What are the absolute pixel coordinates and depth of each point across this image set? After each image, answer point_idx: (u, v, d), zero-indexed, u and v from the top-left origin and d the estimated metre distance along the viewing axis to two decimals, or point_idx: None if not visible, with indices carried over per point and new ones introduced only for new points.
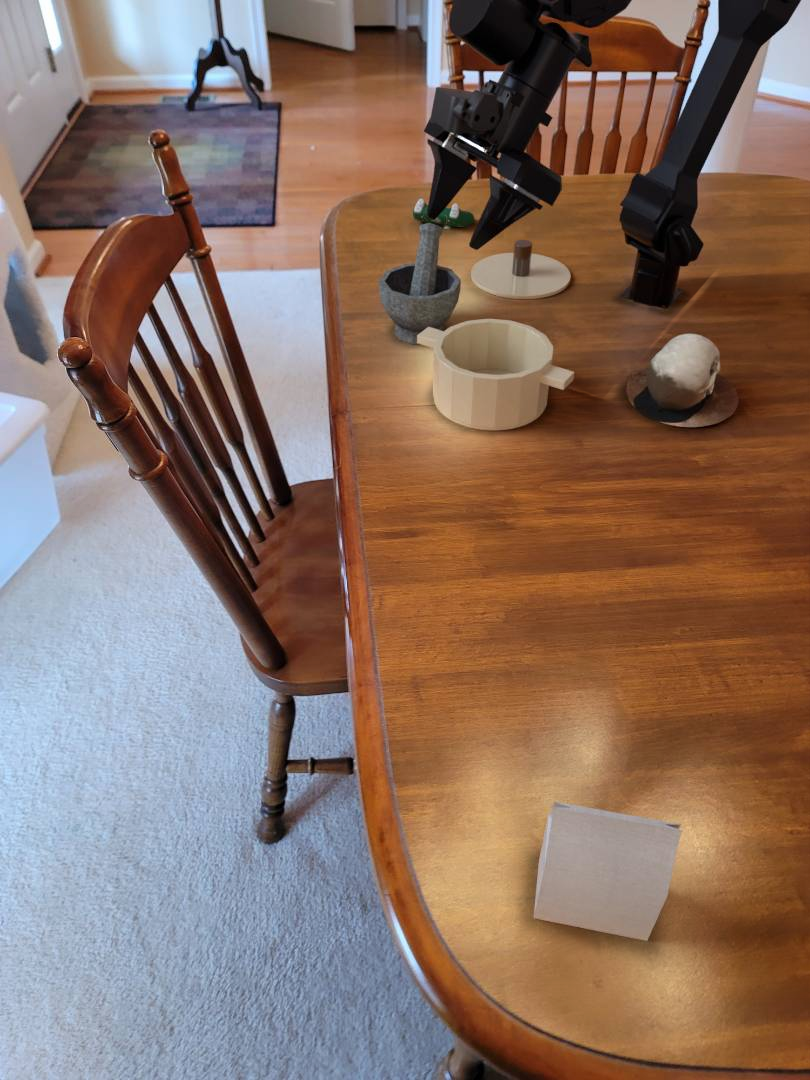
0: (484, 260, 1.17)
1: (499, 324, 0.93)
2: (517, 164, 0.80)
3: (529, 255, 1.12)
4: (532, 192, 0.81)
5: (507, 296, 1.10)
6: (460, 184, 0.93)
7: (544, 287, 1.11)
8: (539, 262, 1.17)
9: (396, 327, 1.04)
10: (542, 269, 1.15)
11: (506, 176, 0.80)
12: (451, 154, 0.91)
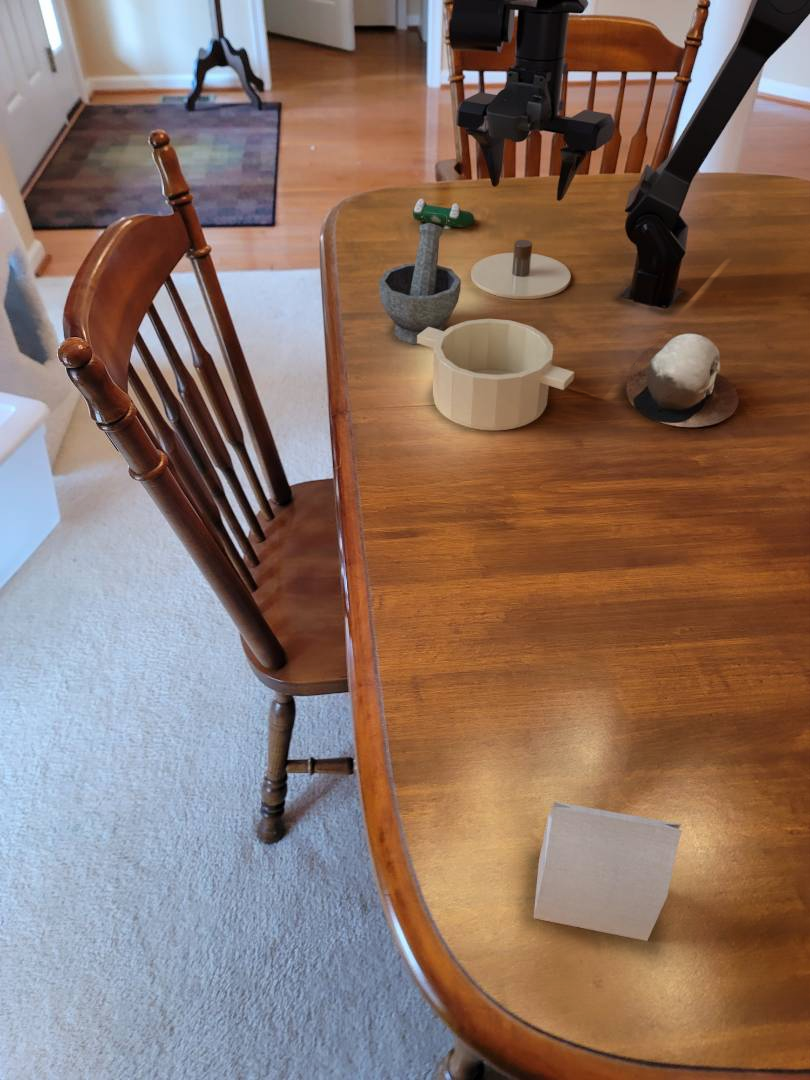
0: (484, 260, 1.17)
1: (499, 324, 0.93)
2: (587, 136, 0.95)
3: (529, 255, 1.12)
4: (602, 144, 0.98)
5: (507, 296, 1.10)
6: (502, 144, 1.07)
7: (544, 287, 1.11)
8: (539, 262, 1.17)
9: (396, 327, 1.04)
10: (542, 269, 1.15)
11: (580, 148, 0.97)
12: None
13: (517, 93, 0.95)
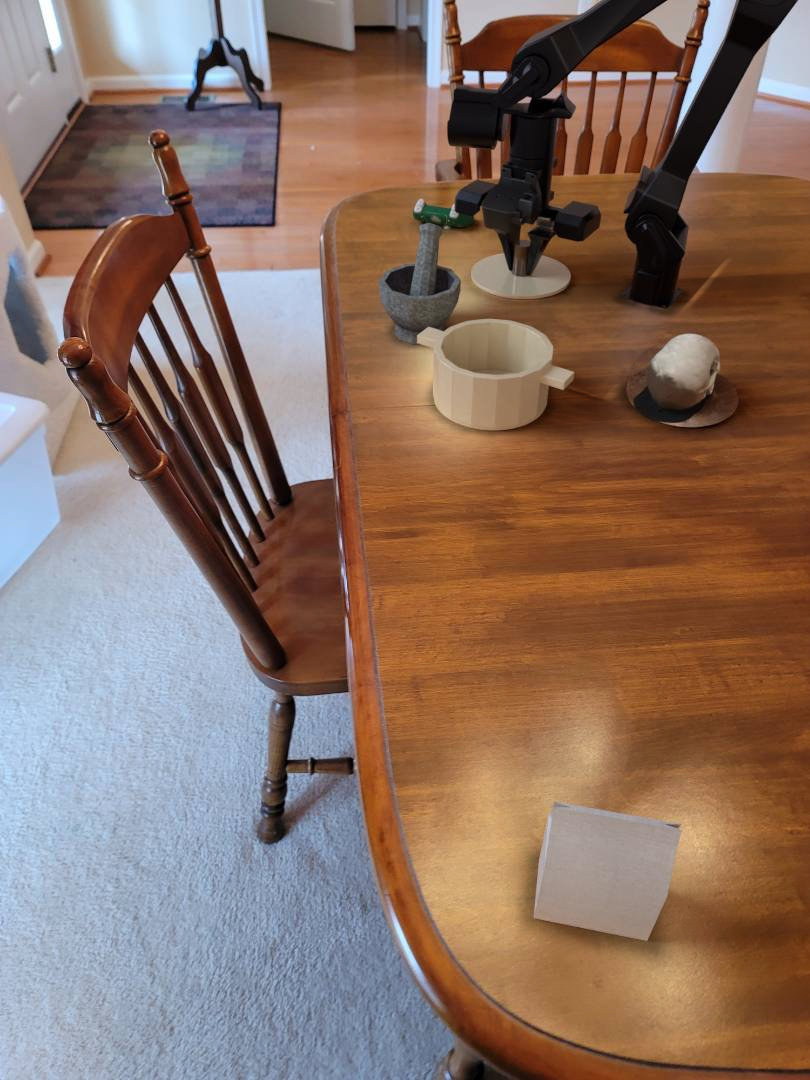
0: (484, 260, 1.17)
1: (499, 324, 0.93)
2: (575, 228, 1.03)
3: None
4: (589, 234, 1.05)
5: (507, 296, 1.10)
6: (518, 232, 1.13)
7: (544, 287, 1.11)
8: (539, 262, 1.17)
9: (396, 327, 1.04)
10: (542, 269, 1.15)
11: (569, 238, 1.04)
12: None
13: (510, 188, 1.03)
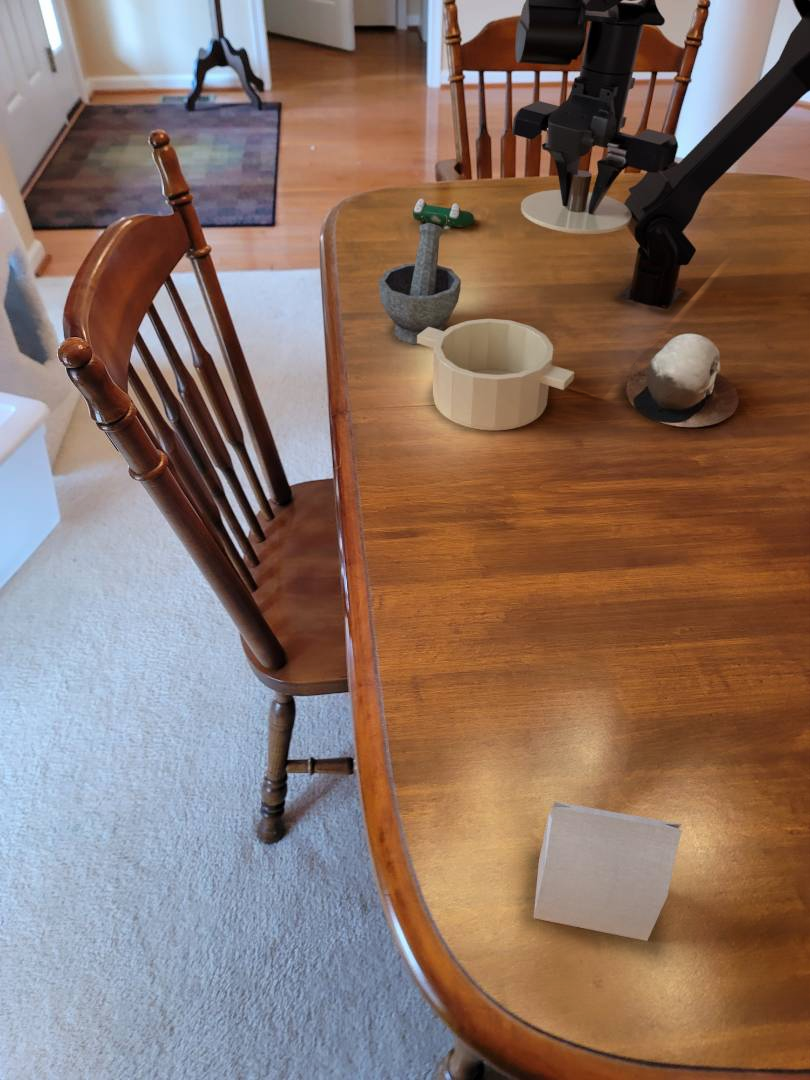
0: (531, 197, 1.05)
1: (499, 324, 0.93)
2: (650, 157, 0.92)
3: (588, 187, 1.01)
4: (664, 167, 0.94)
5: (570, 231, 0.98)
6: (577, 162, 1.02)
7: (608, 222, 1.00)
8: None
9: (396, 327, 1.04)
10: None
11: (642, 168, 0.93)
12: None
13: (581, 106, 0.91)
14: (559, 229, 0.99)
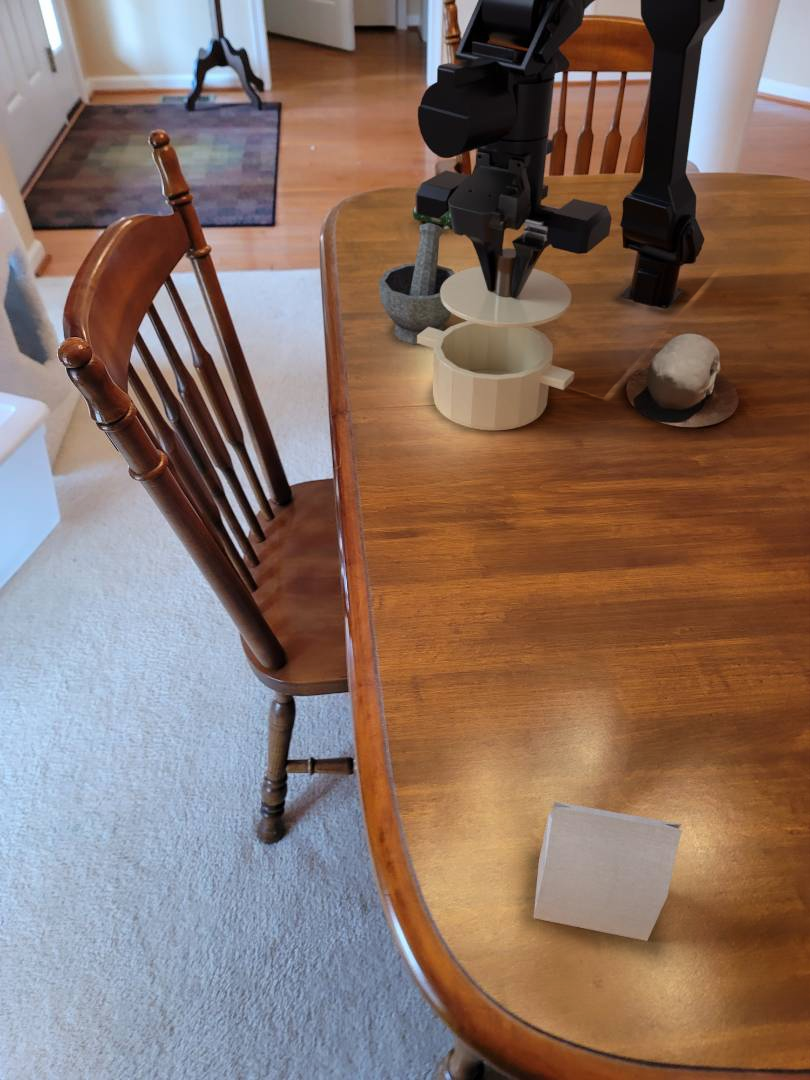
0: (447, 286, 0.88)
1: None
2: (576, 236, 0.75)
3: None
4: (595, 244, 0.77)
5: (521, 325, 0.82)
6: (500, 240, 0.85)
7: (552, 303, 0.85)
8: None
9: (396, 327, 1.04)
10: None
11: (568, 249, 0.76)
12: None
13: (488, 181, 0.75)
14: (508, 326, 0.82)
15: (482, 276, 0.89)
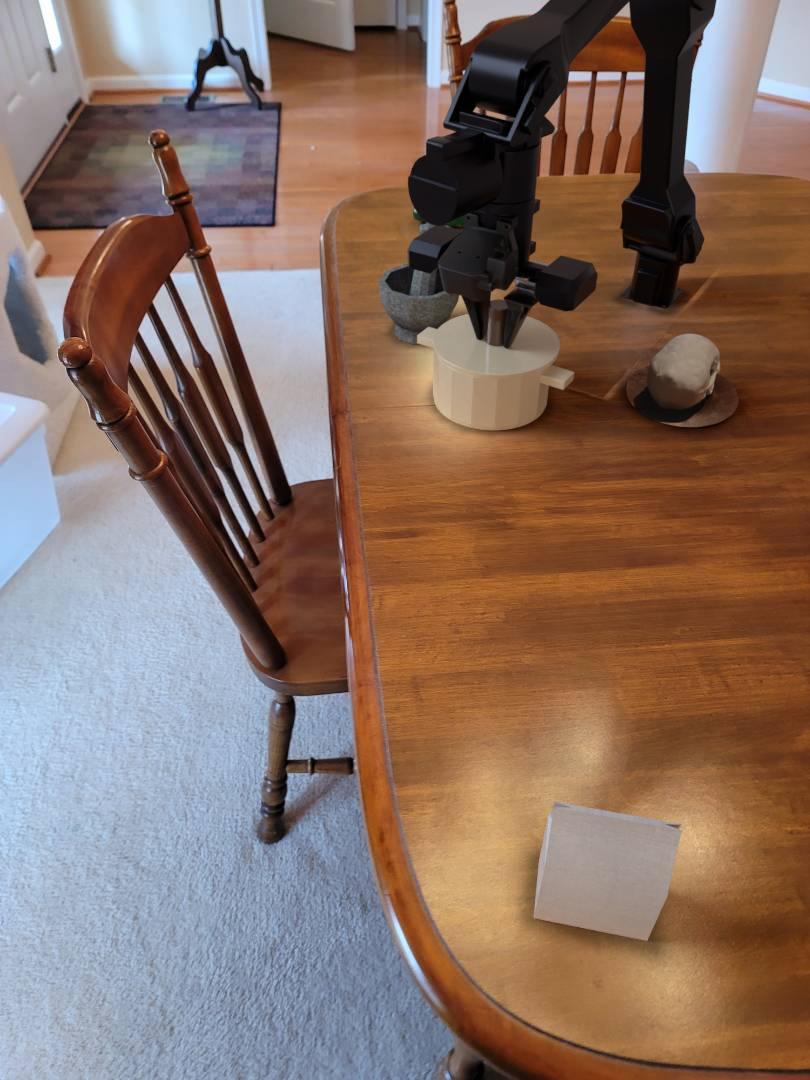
0: (439, 335, 0.90)
1: None
2: (563, 294, 0.77)
3: None
4: (582, 301, 0.79)
5: (511, 376, 0.84)
6: None
7: (541, 352, 0.87)
8: None
9: (396, 327, 1.04)
10: None
11: (555, 307, 0.79)
12: None
13: (476, 242, 0.77)
14: (498, 377, 0.84)
15: None
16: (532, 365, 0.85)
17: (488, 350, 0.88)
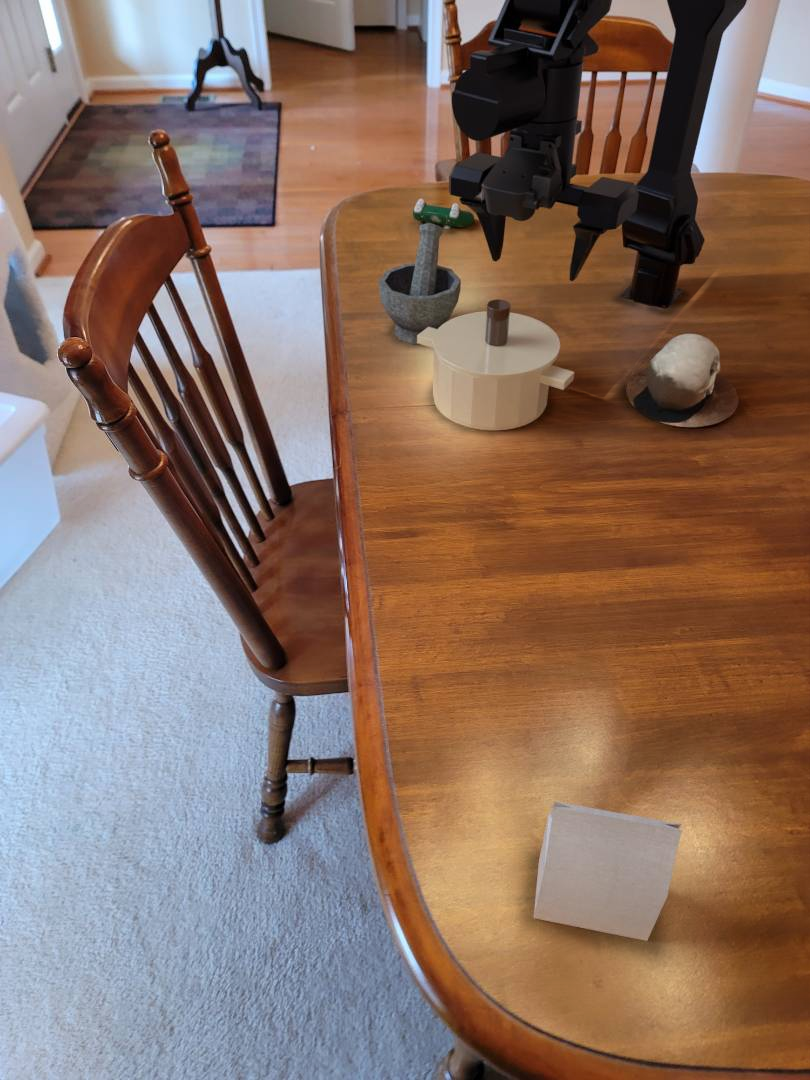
0: (439, 335, 0.90)
1: None
2: (606, 213, 0.79)
3: (509, 317, 0.87)
4: (624, 220, 0.81)
5: (511, 376, 0.84)
6: None
7: (541, 352, 0.87)
8: None
9: (396, 327, 1.04)
10: (514, 329, 0.91)
11: (598, 226, 0.80)
12: None
13: (520, 162, 0.79)
14: (498, 377, 0.84)
15: (473, 324, 0.92)
16: (532, 365, 0.85)
17: (488, 350, 0.88)
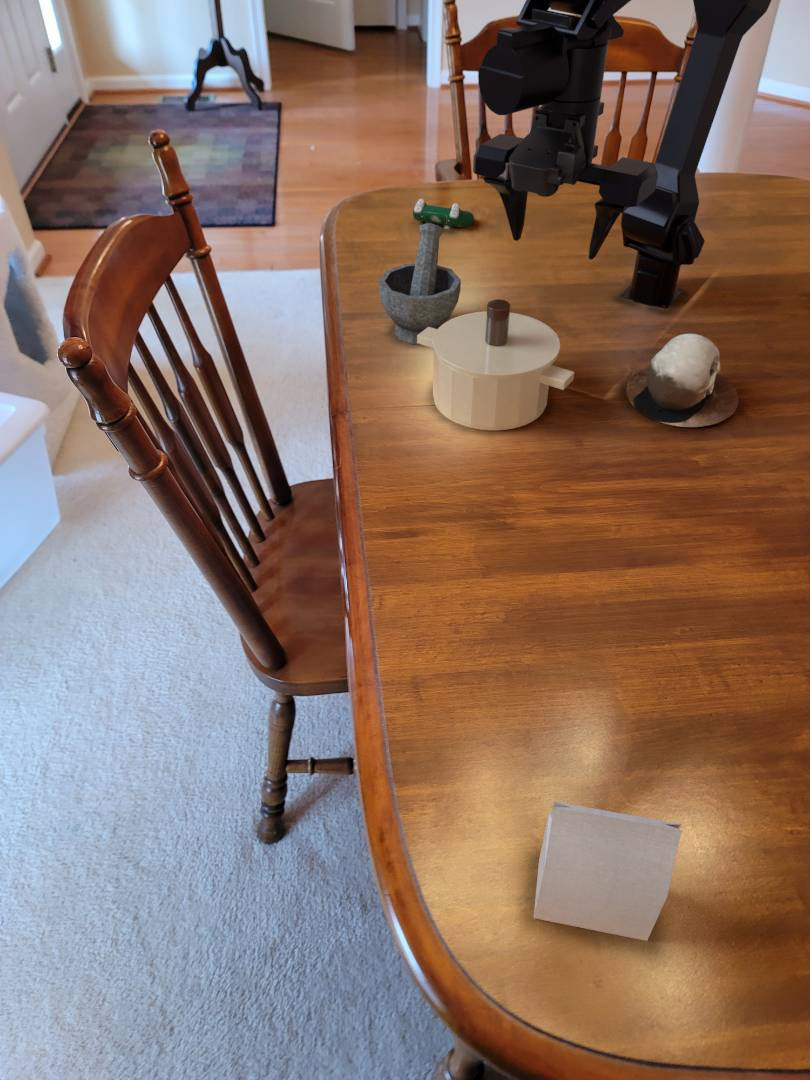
0: (439, 335, 0.90)
1: None
2: (627, 190, 0.81)
3: (509, 317, 0.87)
4: (643, 198, 0.84)
5: (511, 376, 0.84)
6: (525, 192, 0.93)
7: (541, 352, 0.87)
8: None
9: (396, 327, 1.04)
10: (514, 329, 0.91)
11: (619, 203, 0.83)
12: None
13: (545, 140, 0.82)
14: (498, 377, 0.84)
15: (473, 324, 0.92)
16: (532, 365, 0.85)
17: (488, 350, 0.88)
